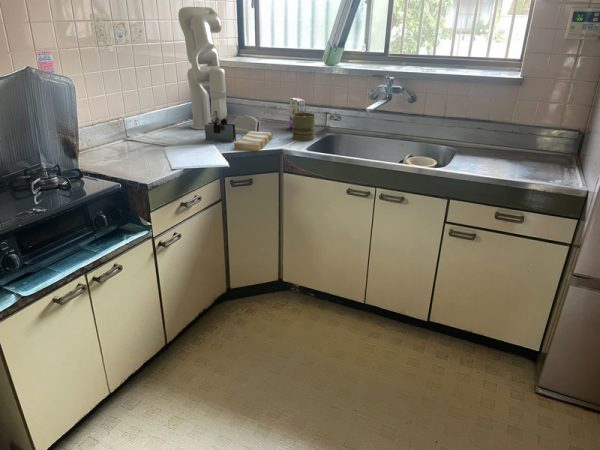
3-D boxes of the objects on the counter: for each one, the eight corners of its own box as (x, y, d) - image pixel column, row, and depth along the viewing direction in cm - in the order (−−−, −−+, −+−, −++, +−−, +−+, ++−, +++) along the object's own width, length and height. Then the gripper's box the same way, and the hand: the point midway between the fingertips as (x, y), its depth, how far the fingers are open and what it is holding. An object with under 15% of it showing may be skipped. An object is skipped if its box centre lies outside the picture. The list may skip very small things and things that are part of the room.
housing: (209, 138, 225) (208, 122, 222) (236, 140, 223) (235, 124, 220) (205, 140, 221) (204, 124, 218) (232, 142, 219) (231, 126, 215)
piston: (291, 116, 219) (293, 112, 229) (291, 140, 224) (293, 135, 234) (314, 117, 218) (315, 112, 228) (313, 141, 223) (315, 136, 233)
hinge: (230, 131, 239) (233, 112, 238) (236, 132, 243) (239, 114, 242) (253, 136, 230) (257, 117, 229) (259, 137, 234) (262, 118, 233)
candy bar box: (305, 131, 242) (306, 100, 235) (297, 132, 240) (297, 101, 233) (297, 127, 251) (297, 97, 244) (289, 127, 249) (289, 97, 242)
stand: (250, 137, 229) (249, 130, 227) (272, 138, 227) (272, 132, 225) (234, 149, 207) (234, 142, 206) (259, 151, 205) (259, 144, 204)
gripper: (217, 92, 221) (220, 127, 228) (203, 97, 205) (206, 134, 212) (232, 93, 220) (234, 127, 226) (219, 98, 204) (221, 135, 211)
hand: (220, 131), depth 219 cm, fingers open, 9 cm apart
